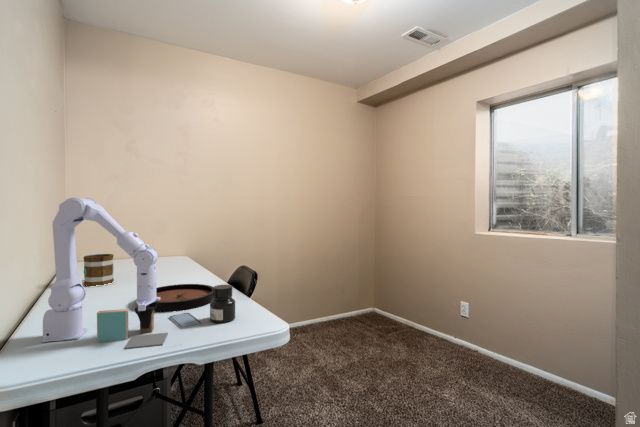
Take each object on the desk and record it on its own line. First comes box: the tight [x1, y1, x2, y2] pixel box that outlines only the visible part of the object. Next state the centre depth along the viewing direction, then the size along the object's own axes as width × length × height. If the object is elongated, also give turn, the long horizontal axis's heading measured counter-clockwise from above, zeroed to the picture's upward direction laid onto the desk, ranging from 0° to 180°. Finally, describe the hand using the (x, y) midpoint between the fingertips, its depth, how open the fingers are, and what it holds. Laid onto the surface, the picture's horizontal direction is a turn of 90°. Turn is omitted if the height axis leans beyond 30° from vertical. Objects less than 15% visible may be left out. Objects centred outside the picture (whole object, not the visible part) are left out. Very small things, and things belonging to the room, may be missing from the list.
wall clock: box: [136, 283, 214, 313], centre depth 144 cm, size 31×4×31 cm
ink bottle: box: [209, 284, 236, 324], centre depth 120 cm, size 10×9×12 cm
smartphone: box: [168, 312, 203, 330], centre depth 119 cm, size 7×1×15 cm
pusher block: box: [139, 310, 155, 334], centre depth 109 cm, size 3×3×7 cm
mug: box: [83, 253, 115, 287], centre depth 176 cm, size 20×14×15 cm
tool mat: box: [124, 332, 169, 350], centre depth 101 cm, size 10×9×1 cm
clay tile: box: [96, 308, 129, 343], centre depth 102 cm, size 8×2×9 cm, turn 106°
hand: (147, 326), depth 109 cm, fingers closed on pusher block, 3 cm apart
